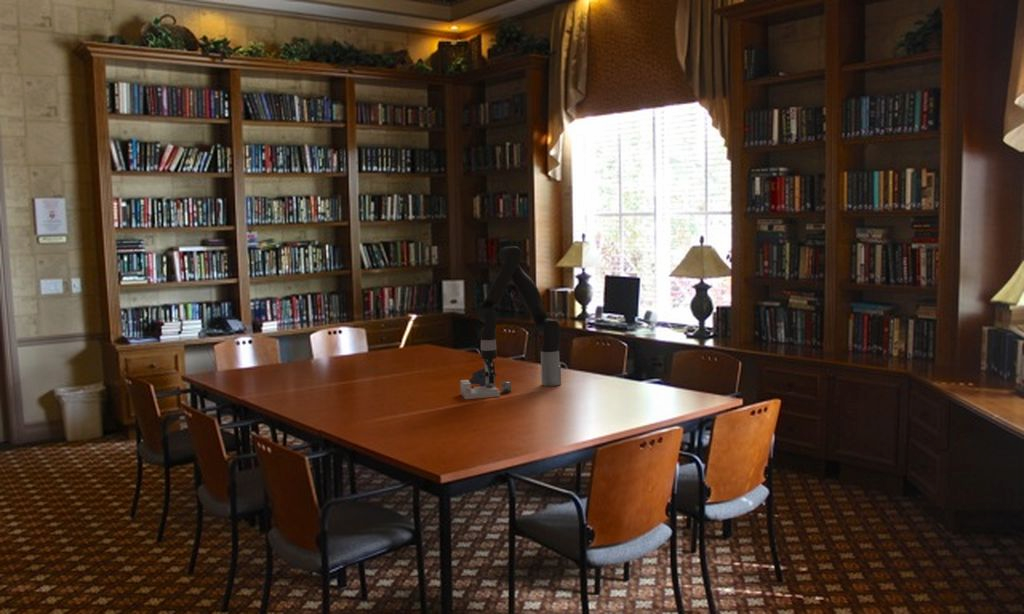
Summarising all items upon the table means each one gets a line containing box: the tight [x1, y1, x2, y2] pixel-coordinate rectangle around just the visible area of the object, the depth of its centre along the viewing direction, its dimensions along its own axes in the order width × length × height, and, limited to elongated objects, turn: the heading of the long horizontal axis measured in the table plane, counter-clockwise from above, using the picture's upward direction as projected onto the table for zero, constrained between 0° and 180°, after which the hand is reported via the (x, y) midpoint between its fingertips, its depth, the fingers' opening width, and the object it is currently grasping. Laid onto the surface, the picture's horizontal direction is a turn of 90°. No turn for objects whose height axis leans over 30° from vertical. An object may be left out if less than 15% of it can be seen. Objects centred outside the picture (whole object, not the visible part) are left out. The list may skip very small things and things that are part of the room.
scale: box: [460, 379, 501, 400], centre depth 434 cm, size 17×13×7 cm
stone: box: [468, 367, 498, 387], centre depth 458 cm, size 14×6×10 cm, turn 117°
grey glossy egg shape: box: [485, 376, 496, 388], centre depth 438 cm, size 4×4×5 cm
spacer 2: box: [501, 381, 512, 394], centre depth 439 cm, size 4×4×5 cm
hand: (490, 381), depth 438 cm, fingers open, 8 cm apart
